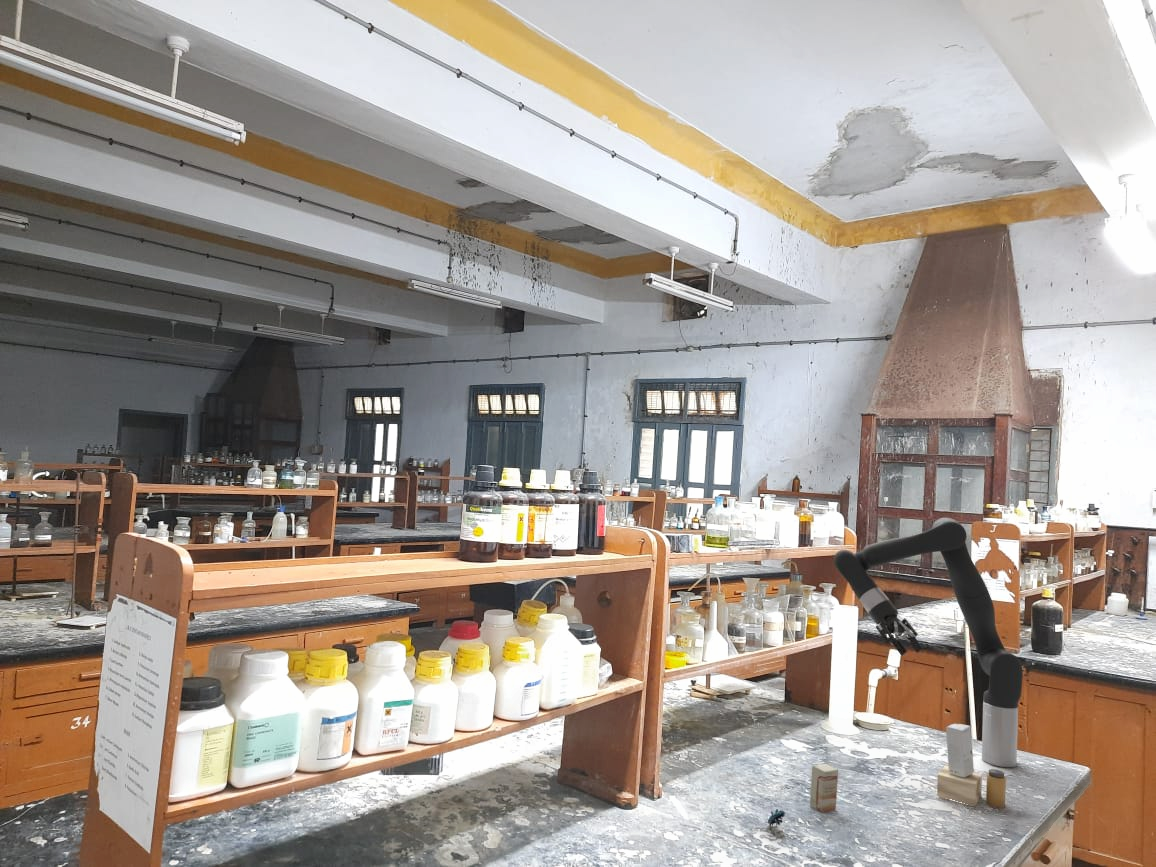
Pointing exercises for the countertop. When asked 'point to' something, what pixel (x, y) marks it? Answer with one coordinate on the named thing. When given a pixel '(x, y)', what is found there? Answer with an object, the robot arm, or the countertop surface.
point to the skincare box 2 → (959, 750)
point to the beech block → (959, 787)
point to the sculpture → (775, 819)
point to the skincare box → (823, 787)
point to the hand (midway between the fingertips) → (912, 652)
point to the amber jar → (996, 788)
